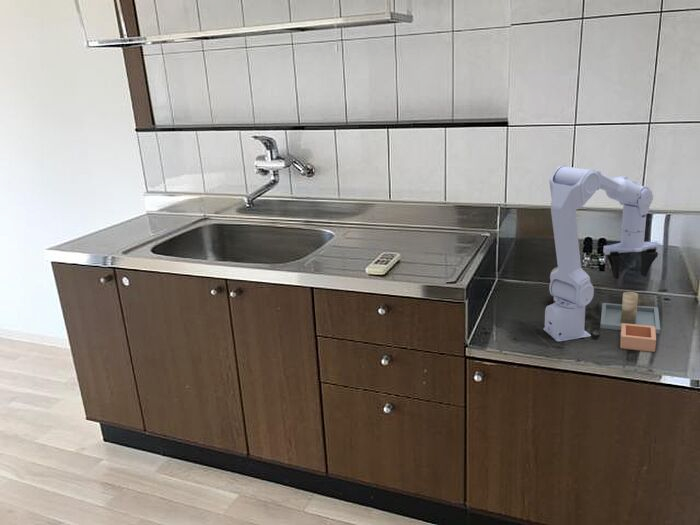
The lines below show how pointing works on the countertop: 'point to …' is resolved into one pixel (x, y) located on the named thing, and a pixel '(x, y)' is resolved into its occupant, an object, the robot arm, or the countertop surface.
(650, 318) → the slate tray
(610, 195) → the robot arm
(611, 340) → the countertop surface
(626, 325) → the terracotta square open box
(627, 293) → the beech dowel
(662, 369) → the countertop surface
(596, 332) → the countertop surface
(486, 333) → the countertop surface
